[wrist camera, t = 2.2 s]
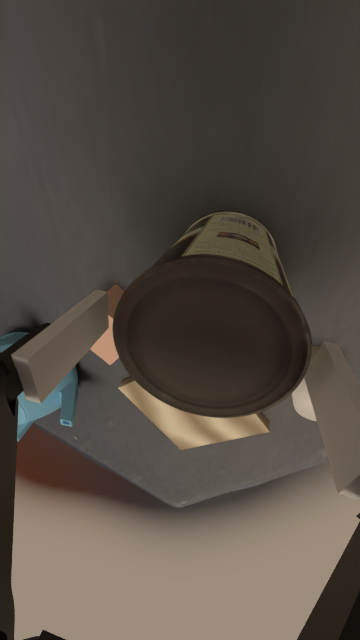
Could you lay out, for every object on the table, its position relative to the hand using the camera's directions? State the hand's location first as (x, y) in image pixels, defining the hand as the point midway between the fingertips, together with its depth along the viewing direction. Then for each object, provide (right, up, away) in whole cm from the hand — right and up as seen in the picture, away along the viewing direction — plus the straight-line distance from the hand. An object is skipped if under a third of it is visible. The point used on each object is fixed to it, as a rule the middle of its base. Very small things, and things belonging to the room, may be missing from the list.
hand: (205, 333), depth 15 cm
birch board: (0, -11, +21) cm, 24 cm away
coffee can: (+3, +6, +10) cm, 12 cm away
